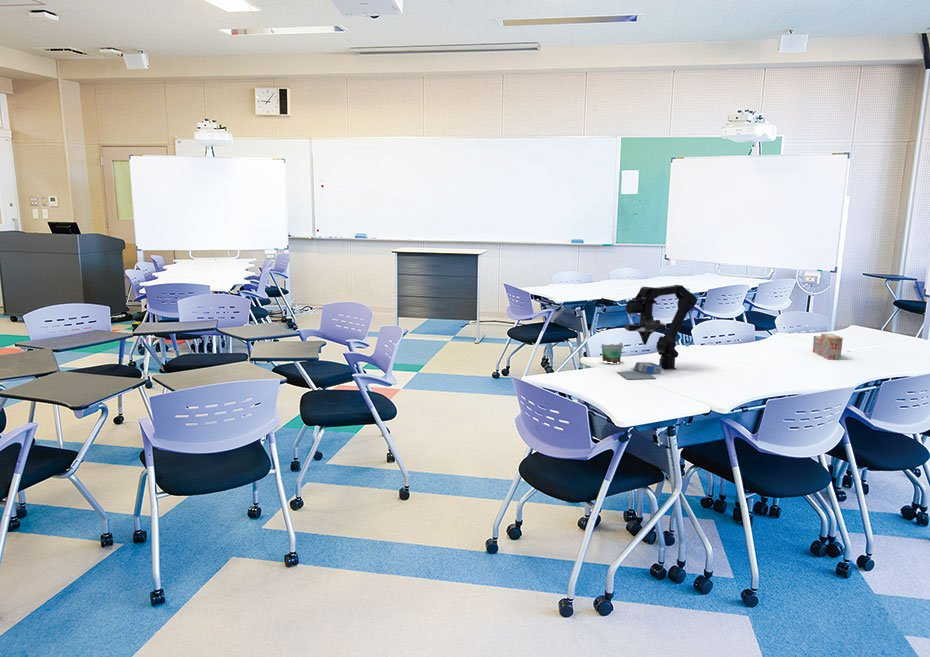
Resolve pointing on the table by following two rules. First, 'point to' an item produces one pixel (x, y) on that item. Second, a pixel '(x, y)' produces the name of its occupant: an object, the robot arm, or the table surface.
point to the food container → (611, 352)
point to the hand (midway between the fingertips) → (644, 344)
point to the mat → (636, 375)
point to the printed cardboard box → (828, 346)
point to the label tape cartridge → (648, 367)
